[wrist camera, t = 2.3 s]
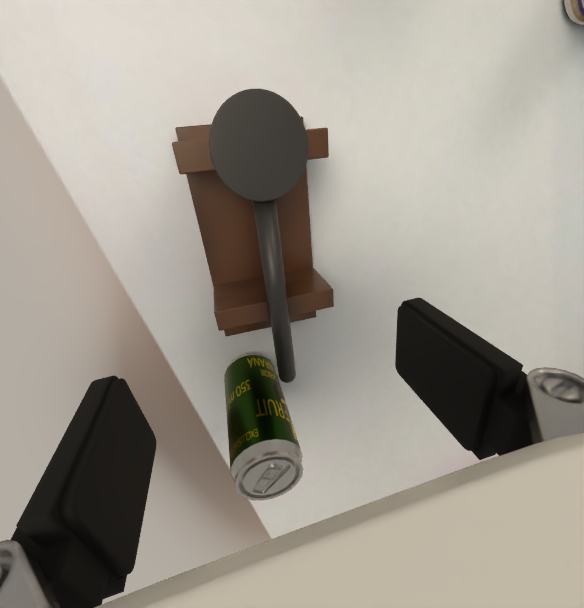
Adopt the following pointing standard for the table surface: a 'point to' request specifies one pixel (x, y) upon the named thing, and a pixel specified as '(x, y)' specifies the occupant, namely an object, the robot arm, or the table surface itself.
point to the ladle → (263, 186)
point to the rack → (251, 238)
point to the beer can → (260, 430)
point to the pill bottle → (575, 10)
